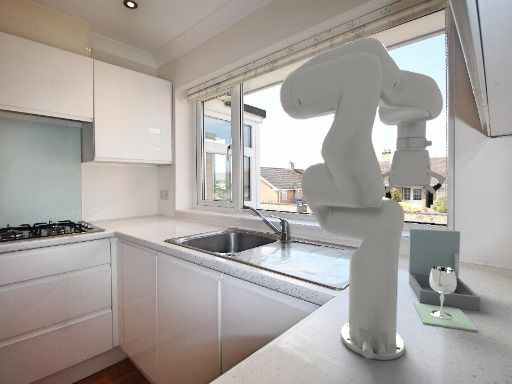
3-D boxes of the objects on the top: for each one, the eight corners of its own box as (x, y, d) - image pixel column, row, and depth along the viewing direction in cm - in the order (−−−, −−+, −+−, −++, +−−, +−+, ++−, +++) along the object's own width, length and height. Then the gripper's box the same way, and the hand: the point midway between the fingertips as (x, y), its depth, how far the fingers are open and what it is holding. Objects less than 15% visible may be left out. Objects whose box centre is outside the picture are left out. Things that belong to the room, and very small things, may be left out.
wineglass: (425, 314, 70) (426, 269, 69) (431, 307, 74) (432, 264, 73) (452, 323, 66) (454, 274, 65) (457, 315, 70) (459, 269, 69)
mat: (477, 331, 63) (477, 330, 63) (423, 323, 66) (423, 322, 66) (459, 309, 73) (459, 308, 73) (413, 303, 77) (413, 302, 77)
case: (479, 310, 73) (482, 242, 72) (419, 302, 78) (421, 238, 77) (456, 287, 88) (458, 230, 87) (408, 282, 93) (409, 228, 92)
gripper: (442, 146, 76) (440, 206, 77) (375, 148, 82) (374, 204, 83) (450, 142, 69) (448, 209, 70) (376, 145, 76) (375, 207, 76)
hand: (408, 206), depth 77 cm, fingers open, 9 cm apart
